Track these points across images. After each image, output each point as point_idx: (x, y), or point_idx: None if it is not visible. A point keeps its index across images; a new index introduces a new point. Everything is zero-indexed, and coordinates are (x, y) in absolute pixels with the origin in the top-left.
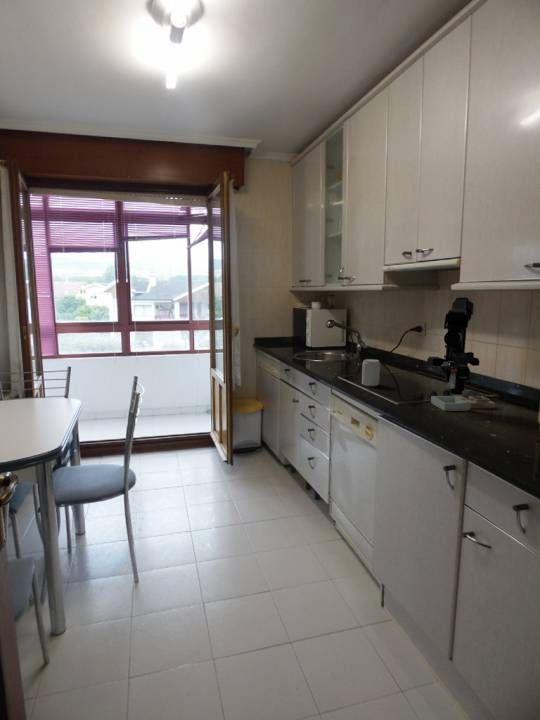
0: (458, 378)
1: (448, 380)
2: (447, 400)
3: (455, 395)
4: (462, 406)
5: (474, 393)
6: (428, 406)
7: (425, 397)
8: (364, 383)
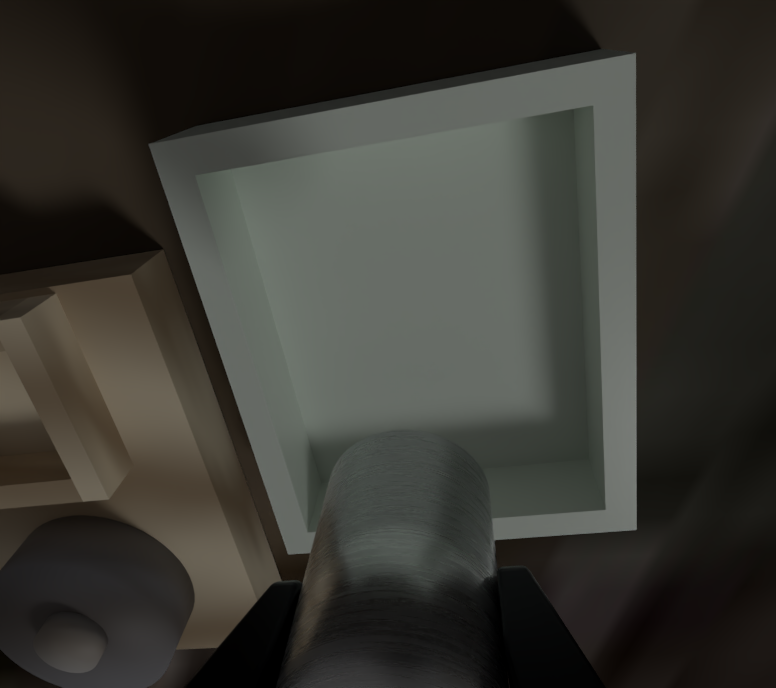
0: (188, 683)
1: (520, 612)
2: None
3: None
4: (288, 113)
5: (22, 580)
6: (738, 289)
7: None
8: None
